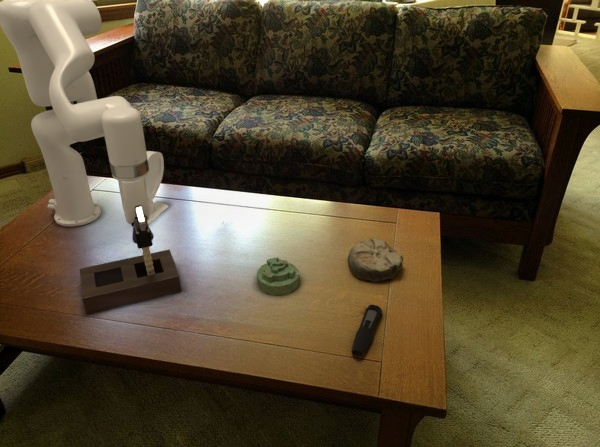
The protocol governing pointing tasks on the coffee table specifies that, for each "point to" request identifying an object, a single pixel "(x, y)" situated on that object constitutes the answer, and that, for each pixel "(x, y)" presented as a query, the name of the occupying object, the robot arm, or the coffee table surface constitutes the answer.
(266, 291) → the decorative artifact
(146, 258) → the toy lamp
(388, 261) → the stone
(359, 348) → the electric trimmer
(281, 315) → the coffee table surface
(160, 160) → the heart sculpture
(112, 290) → the frame
